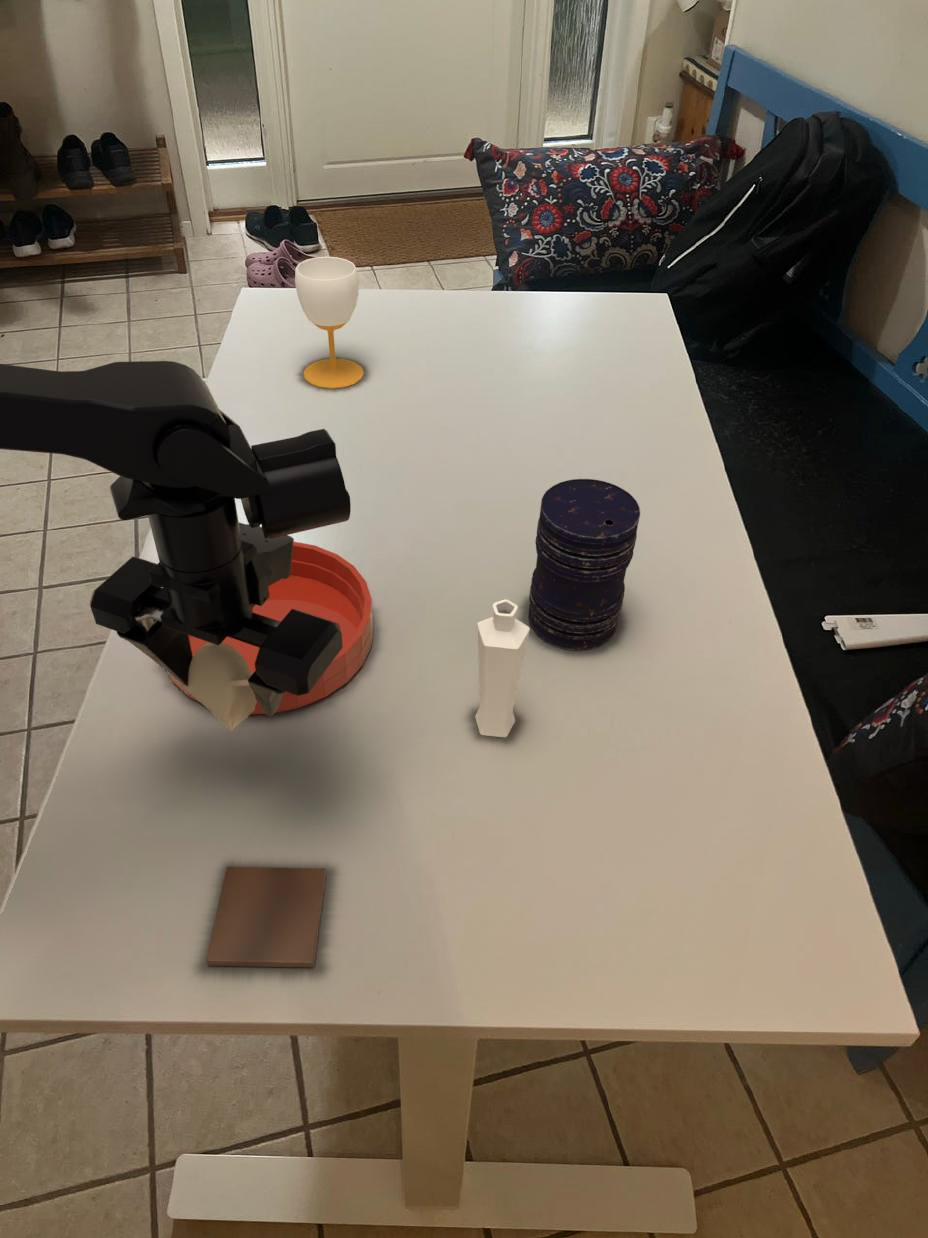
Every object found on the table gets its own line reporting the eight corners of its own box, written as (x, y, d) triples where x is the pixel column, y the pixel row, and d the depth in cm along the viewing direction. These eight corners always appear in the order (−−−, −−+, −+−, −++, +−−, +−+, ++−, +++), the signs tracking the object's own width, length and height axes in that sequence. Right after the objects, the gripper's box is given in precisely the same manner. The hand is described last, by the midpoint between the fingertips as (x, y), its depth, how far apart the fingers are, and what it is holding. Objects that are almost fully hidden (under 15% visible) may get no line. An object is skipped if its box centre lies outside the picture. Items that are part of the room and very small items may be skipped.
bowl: (366, 717, 85) (364, 685, 82) (140, 716, 84) (130, 684, 81) (377, 573, 101) (376, 542, 98) (187, 570, 100) (180, 539, 97)
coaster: (207, 966, 67) (205, 961, 66) (228, 871, 73) (226, 866, 72) (313, 968, 67) (312, 963, 67) (325, 873, 73) (325, 868, 72)
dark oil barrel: (509, 607, 97) (519, 495, 87) (579, 578, 101) (597, 467, 91) (564, 664, 91) (582, 550, 81) (636, 630, 95) (663, 518, 85)
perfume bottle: (524, 737, 84) (539, 623, 74) (479, 744, 83) (487, 629, 73) (513, 701, 87) (525, 587, 77) (469, 707, 87) (476, 592, 76)
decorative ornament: (222, 663, 76) (213, 617, 73) (282, 717, 72) (275, 671, 68) (181, 687, 74) (170, 641, 70) (240, 744, 70) (231, 698, 66)
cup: (335, 354, 139) (327, 250, 128) (376, 373, 135) (372, 268, 124) (290, 374, 134) (279, 267, 123) (332, 395, 129) (324, 287, 118)
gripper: (372, 519, 65) (378, 667, 75) (159, 457, 70) (192, 604, 80) (294, 612, 57) (312, 762, 68) (61, 535, 62) (112, 687, 73)
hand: (231, 697), depth 72 cm, fingers closed on decorative ornament, 7 cm apart
